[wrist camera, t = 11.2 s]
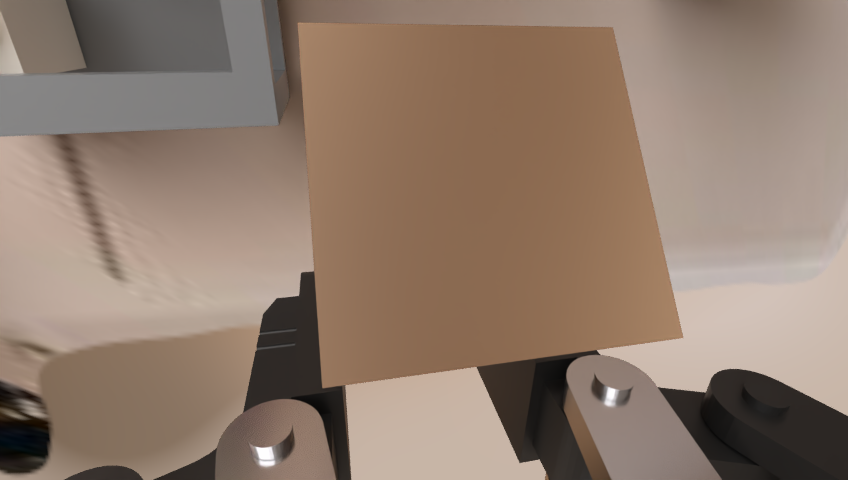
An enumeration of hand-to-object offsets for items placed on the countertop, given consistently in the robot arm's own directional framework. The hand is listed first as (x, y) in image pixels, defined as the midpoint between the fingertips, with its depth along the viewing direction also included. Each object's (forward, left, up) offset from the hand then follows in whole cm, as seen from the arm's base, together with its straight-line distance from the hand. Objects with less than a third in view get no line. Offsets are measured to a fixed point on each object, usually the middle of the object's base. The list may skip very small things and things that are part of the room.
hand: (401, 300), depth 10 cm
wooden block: (0, +4, -6) cm, 8 cm away
